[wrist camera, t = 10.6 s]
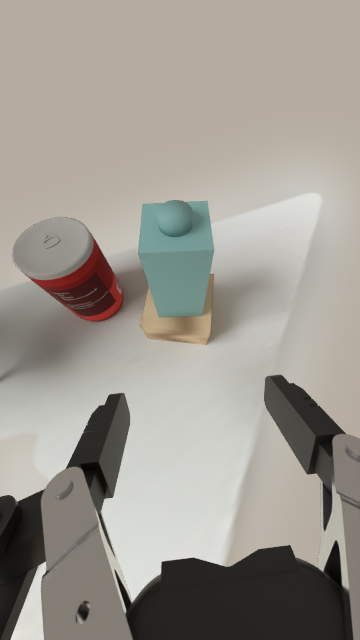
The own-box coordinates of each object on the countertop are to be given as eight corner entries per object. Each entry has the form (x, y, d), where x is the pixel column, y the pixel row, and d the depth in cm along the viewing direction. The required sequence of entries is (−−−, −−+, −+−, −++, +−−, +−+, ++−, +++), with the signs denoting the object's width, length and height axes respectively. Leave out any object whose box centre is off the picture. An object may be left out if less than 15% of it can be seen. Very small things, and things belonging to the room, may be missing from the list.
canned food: (96, 271, 30) (51, 207, 20) (135, 291, 29) (107, 231, 18) (62, 307, 28) (-8, 254, 18) (103, 332, 26) (51, 288, 16)
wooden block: (148, 339, 26) (139, 325, 21) (157, 290, 29) (152, 269, 24) (206, 345, 25) (210, 332, 20) (209, 294, 28) (213, 274, 24)
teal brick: (158, 317, 21) (134, 240, 11) (159, 281, 23) (139, 190, 13) (202, 315, 21) (216, 237, 11) (199, 280, 23) (208, 186, 13)
